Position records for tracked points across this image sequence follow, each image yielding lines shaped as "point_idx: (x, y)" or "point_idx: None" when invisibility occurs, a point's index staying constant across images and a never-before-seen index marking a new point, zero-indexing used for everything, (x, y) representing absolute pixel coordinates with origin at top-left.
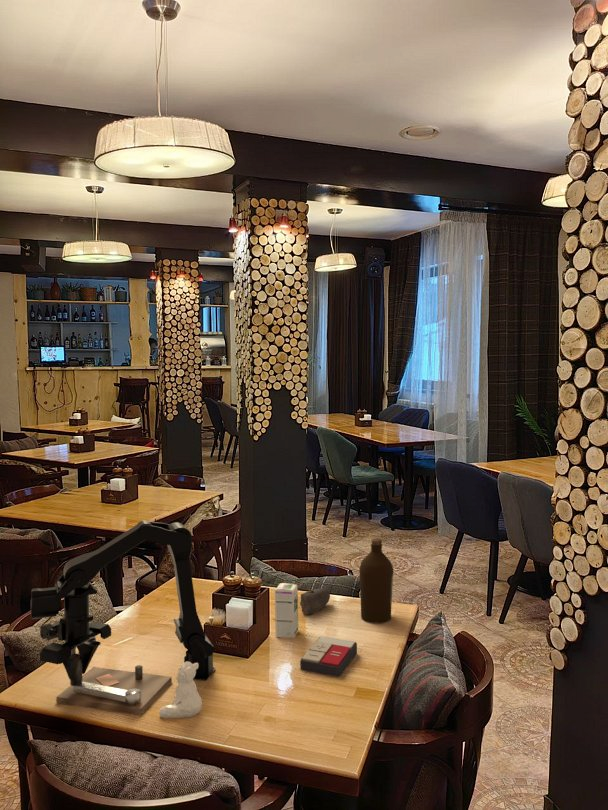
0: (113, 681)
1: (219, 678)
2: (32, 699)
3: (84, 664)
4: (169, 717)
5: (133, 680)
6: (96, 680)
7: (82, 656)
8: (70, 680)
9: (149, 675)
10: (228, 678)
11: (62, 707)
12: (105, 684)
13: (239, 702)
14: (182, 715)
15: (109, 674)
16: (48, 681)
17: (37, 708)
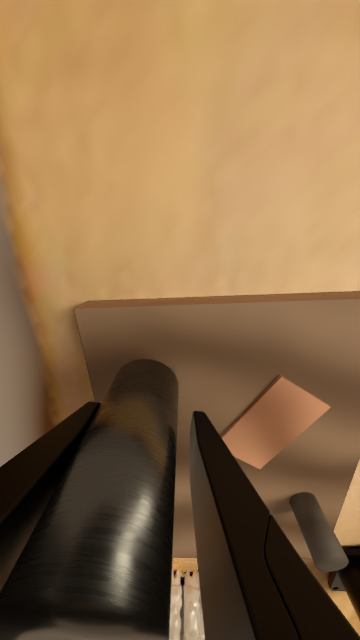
0: (262, 450)
1: (342, 593)
2: (62, 156)
3: (197, 509)
4: None
5: (286, 492)
6: (264, 387)
7: (222, 605)
8: (110, 386)
9: (328, 516)
10: (343, 603)
11: (74, 342)
12: (233, 437)
13: None
14: None
15: (323, 412)
16: (267, 87)
17: (16, 249)
